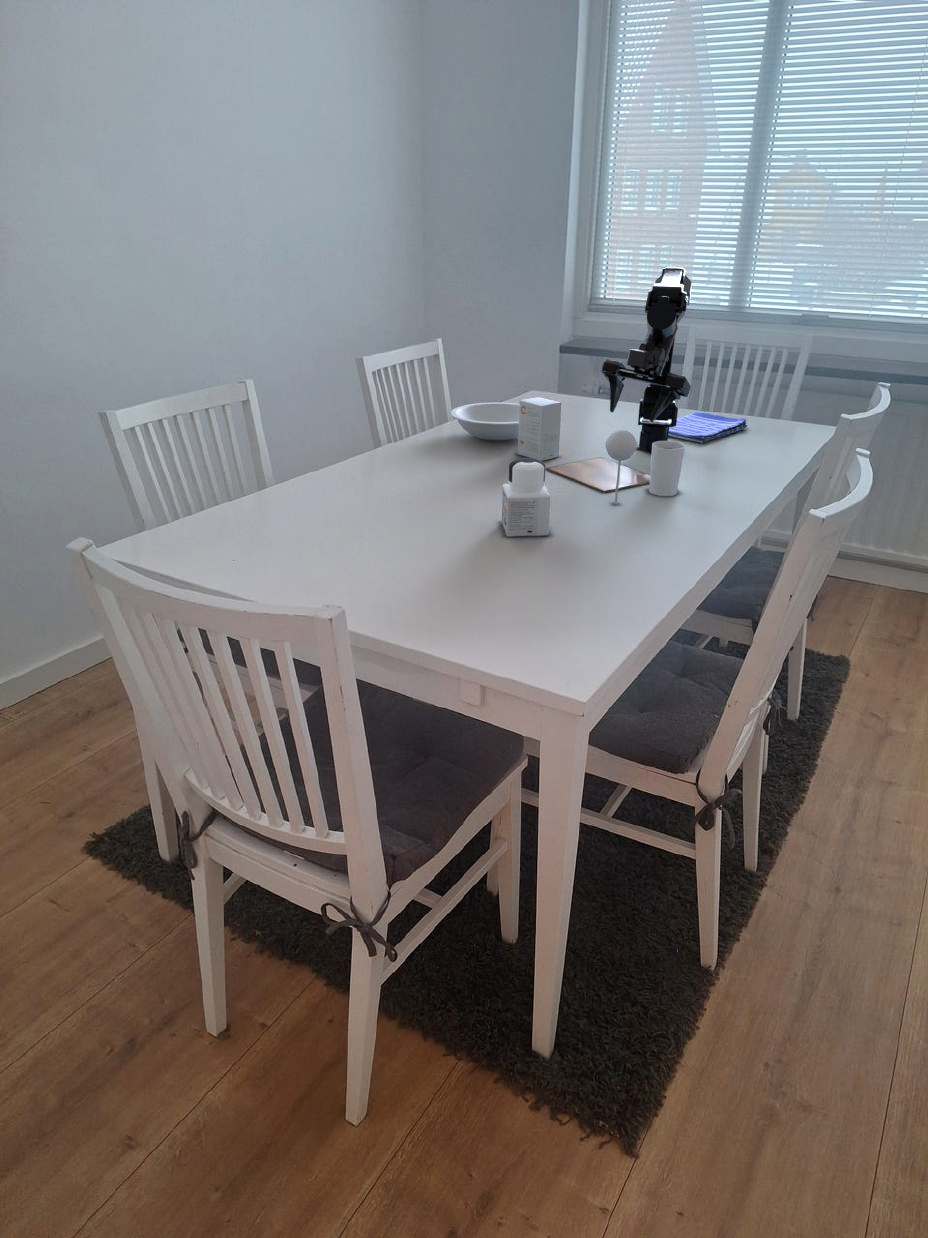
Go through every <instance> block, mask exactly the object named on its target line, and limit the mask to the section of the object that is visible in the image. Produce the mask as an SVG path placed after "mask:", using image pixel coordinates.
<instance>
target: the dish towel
mask: <svg viewBox="0 0 928 1238" xmlns="http://www.w3.org/2000/svg"><path fill="white" fill-rule="evenodd" d="M746 428H748V425H747V419H746V418H745V417H743V418H736V417H728V416H724V415H720V414H719V415H718V414H712V413H707V412H702V411H693V412H692V413H690V414H687V415H684V416H682V417H677V423H676V426H674V427H673V428H671V427H669V434H668V437H672V438H676V439H681V440H685V441H690V442H695V443H698V444H703V443H705V442H709V441H712V440H714V439H718V438H722V437H724V436H727V435H730V434H733V433H736V432H739V431H741V430H744V429H746Z"/></svg>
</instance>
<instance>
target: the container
mask: <svg viewBox="0 0 928 1238" xmlns="http://www.w3.org/2000/svg"><path fill="white" fill-rule="evenodd" d="M546 466H547V465H546V463H545V462H544V461H540V460H538V459H534V458H529V457H520V458H519V457H518V458H516V459H513V460H511V461H510V462H509V465H508V483H503V484H502V498H501V499H502V500H501V501H502V502H501V524H502V526H503V530H504V532H505V535H506V537H508V538H509V537H544V536H545V537H547V536H549V534H550V533H549V532H550V516H551V515H550V514H551V501H552V500H551V499H552V498H551V494H550V493H549V490H548V489H547V487H546V485H545V484H546V483H545V482H546V469H547V467H546Z"/></svg>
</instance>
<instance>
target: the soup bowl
mask: <svg viewBox="0 0 928 1238" xmlns="http://www.w3.org/2000/svg"><path fill="white" fill-rule="evenodd" d="M519 405H520V403H516V402H515V403H514V402H478V403H469V404H464V405H461V406H458V407H455V408H453V409H452V410H451V411H450V415H451V417H452V418H453V419H456V420H457V422H458V424H459V425H460V427H461V428H462V429H463V430H464V432H467V434H469V435H470V436H473V437H474V438H478V439H481V440H487V441H509V440H510V441H511V440H515V439H518V431H519Z"/></svg>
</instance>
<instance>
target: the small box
mask: <svg viewBox="0 0 928 1238" xmlns="http://www.w3.org/2000/svg"><path fill="white" fill-rule="evenodd" d="M519 404H520V405H519V431H518V438H517V455H520V456H523V457H525V458H534V459H538V460H540V461H542V462H544V461H546V460H552V459H555V458H558V457H560V440H561V439H560V438H561V421H562V420H561V419H562V401H556V400H552V399H547V398H543V397H539V396H536V397H532V398H525V399H519Z"/></svg>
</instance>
